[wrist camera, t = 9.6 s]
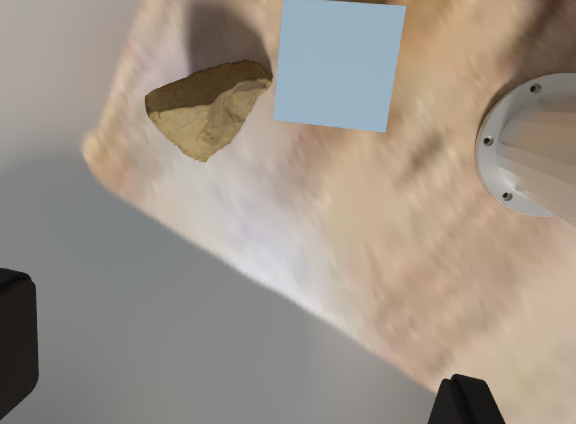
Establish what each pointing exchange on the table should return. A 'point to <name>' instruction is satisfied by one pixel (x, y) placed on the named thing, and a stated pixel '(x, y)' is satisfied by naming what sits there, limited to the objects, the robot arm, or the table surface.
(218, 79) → the rock
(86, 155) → the table surface
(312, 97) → the blue block
